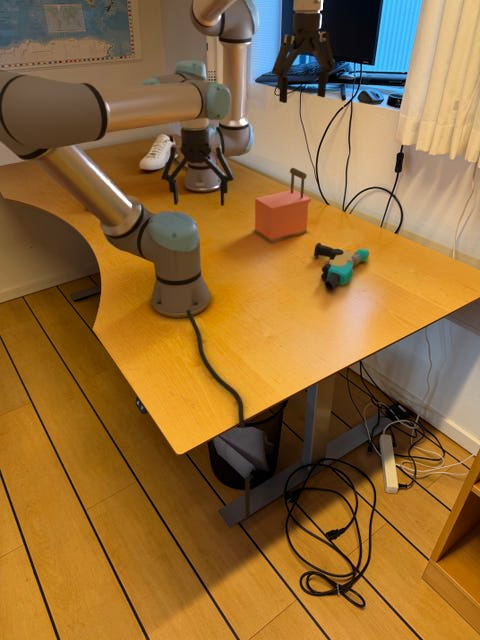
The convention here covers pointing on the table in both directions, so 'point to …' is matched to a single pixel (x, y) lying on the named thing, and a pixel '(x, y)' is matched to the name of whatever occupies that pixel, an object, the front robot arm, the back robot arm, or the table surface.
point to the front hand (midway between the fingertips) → (199, 203)
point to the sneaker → (158, 153)
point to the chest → (280, 222)
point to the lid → (286, 195)
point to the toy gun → (339, 264)
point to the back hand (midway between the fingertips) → (302, 99)
